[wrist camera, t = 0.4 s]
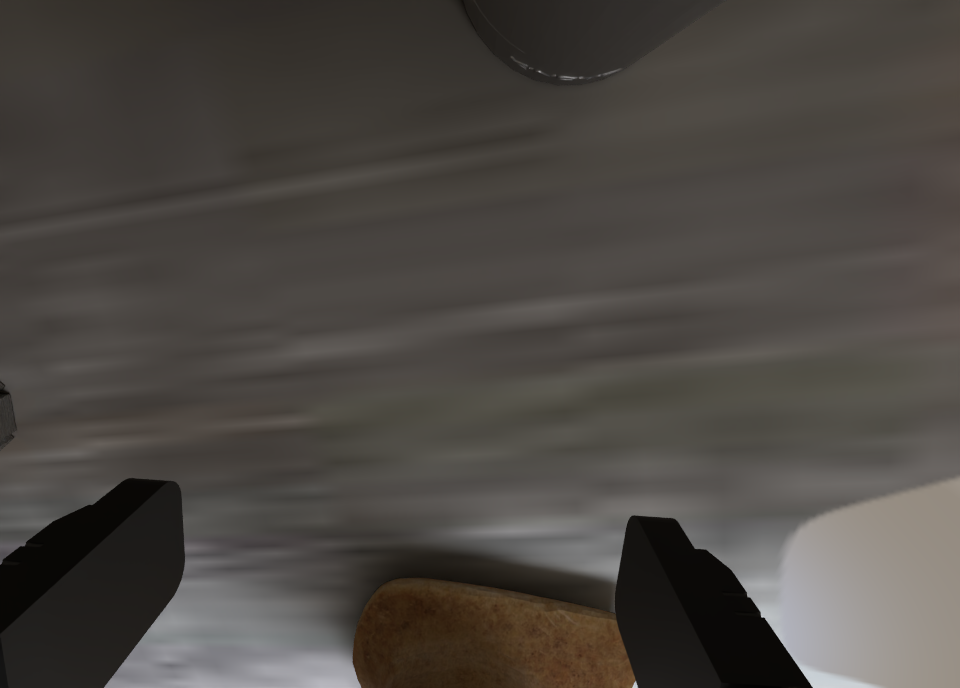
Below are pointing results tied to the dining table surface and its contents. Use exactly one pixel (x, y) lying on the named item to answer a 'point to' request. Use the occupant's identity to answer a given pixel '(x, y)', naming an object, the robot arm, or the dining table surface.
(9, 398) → the ring
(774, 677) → the robot arm
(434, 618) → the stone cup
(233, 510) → the dining table surface
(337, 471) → the dining table surface
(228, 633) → the dining table surface
